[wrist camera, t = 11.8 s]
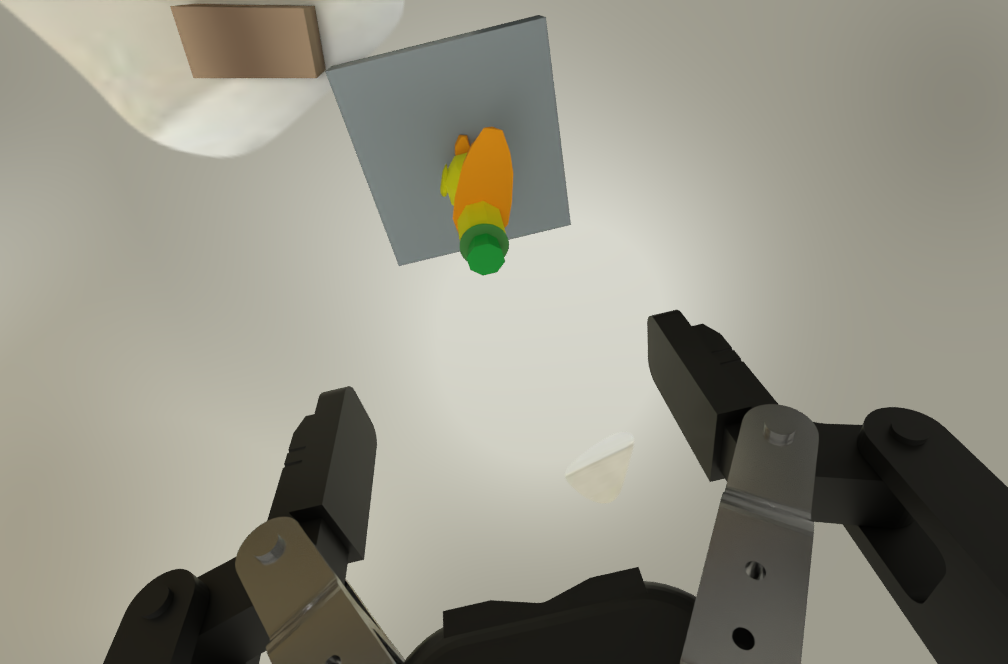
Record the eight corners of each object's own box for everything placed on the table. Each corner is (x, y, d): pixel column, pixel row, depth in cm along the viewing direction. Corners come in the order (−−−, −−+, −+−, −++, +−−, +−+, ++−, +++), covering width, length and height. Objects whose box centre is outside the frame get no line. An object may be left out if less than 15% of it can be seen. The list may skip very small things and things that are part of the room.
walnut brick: (315, 5, 26) (303, 8, 23) (326, 69, 27) (316, 77, 25) (195, 3, 25) (170, 6, 22) (214, 69, 27) (193, 78, 24)
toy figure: (446, 83, 26) (455, 149, 17) (509, 93, 27) (552, 162, 18) (436, 200, 30) (439, 306, 21) (492, 206, 31) (518, 312, 22)
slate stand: (538, 15, 27) (545, 17, 25) (564, 213, 34) (570, 224, 32) (331, 66, 27) (325, 71, 25) (400, 252, 34) (399, 265, 33)
